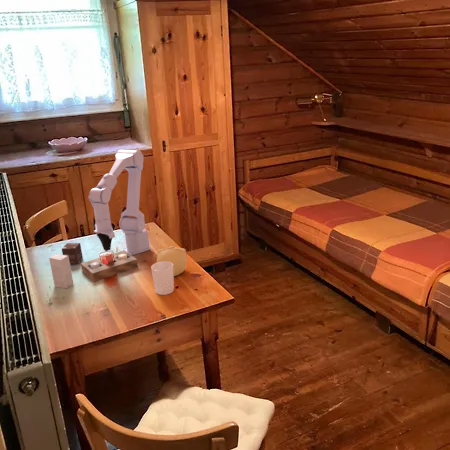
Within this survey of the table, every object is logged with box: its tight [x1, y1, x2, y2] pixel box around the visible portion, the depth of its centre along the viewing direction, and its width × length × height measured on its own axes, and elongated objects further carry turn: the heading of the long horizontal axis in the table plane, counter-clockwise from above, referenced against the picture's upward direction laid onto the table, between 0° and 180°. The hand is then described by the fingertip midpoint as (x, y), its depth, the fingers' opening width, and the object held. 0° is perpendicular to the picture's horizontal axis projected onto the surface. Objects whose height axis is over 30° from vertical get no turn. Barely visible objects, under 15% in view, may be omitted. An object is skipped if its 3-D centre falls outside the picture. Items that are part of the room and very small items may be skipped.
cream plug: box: [118, 254, 127, 260], centre depth 204 cm, size 4×4×4 cm
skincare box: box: [49, 253, 74, 289], centre depth 188 cm, size 6×4×12 cm
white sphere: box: [90, 262, 100, 269], centre depth 197 cm, size 4×4×4 cm
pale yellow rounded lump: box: [156, 245, 188, 277], centre depth 194 cm, size 12×12×11 cm
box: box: [61, 242, 83, 265], centre depth 209 cm, size 6×6×7 cm
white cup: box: [150, 261, 175, 296], centre depth 180 cm, size 8×8×10 cm
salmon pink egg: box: [105, 252, 114, 264], centre depth 200 cm, size 4×4×4 cm
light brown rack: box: [80, 250, 139, 282], centre depth 201 cm, size 19×12×4 cm, turn 127°
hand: (107, 249), depth 198 cm, fingers closed
